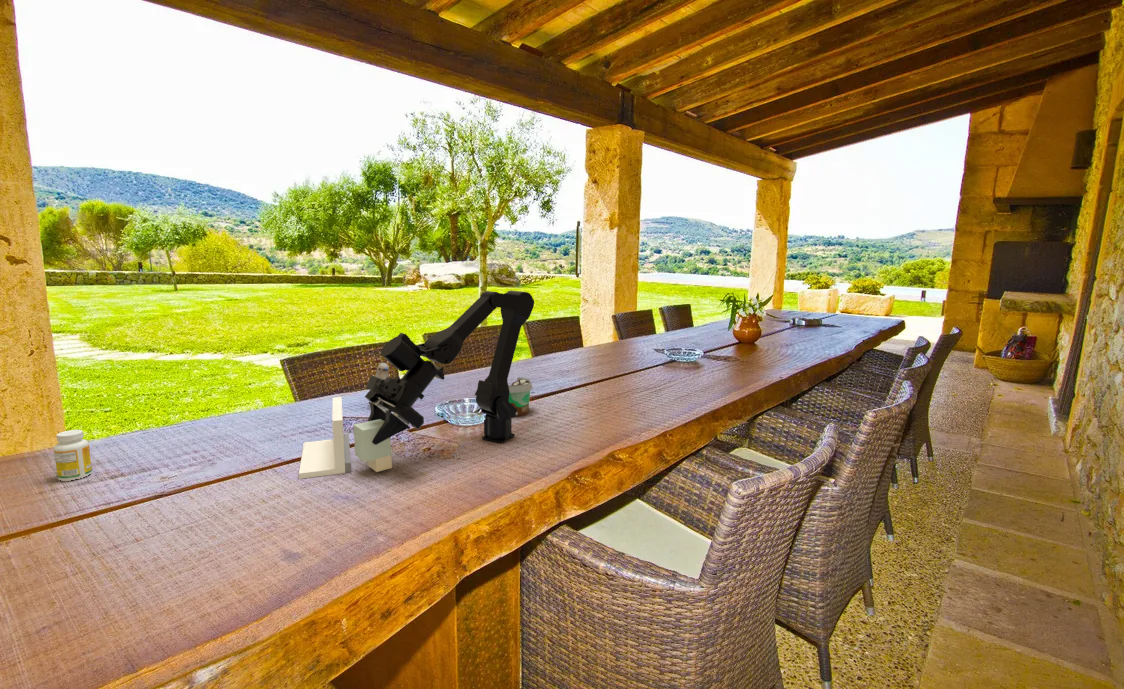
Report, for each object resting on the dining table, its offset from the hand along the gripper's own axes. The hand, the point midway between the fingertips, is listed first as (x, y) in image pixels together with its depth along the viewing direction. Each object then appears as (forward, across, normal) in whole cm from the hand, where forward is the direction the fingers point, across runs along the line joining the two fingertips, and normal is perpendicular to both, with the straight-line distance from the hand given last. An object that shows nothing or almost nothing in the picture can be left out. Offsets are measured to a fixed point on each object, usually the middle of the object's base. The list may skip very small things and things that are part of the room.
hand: (368, 440), depth 113 cm
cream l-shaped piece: (+8, -14, +2) cm, 16 cm away
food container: (-32, -13, +43) cm, 55 cm away
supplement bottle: (+39, -37, -28) cm, 61 cm away
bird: (-10, -45, +21) cm, 50 cm away
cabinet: (+4, 0, +6) cm, 7 cm away
